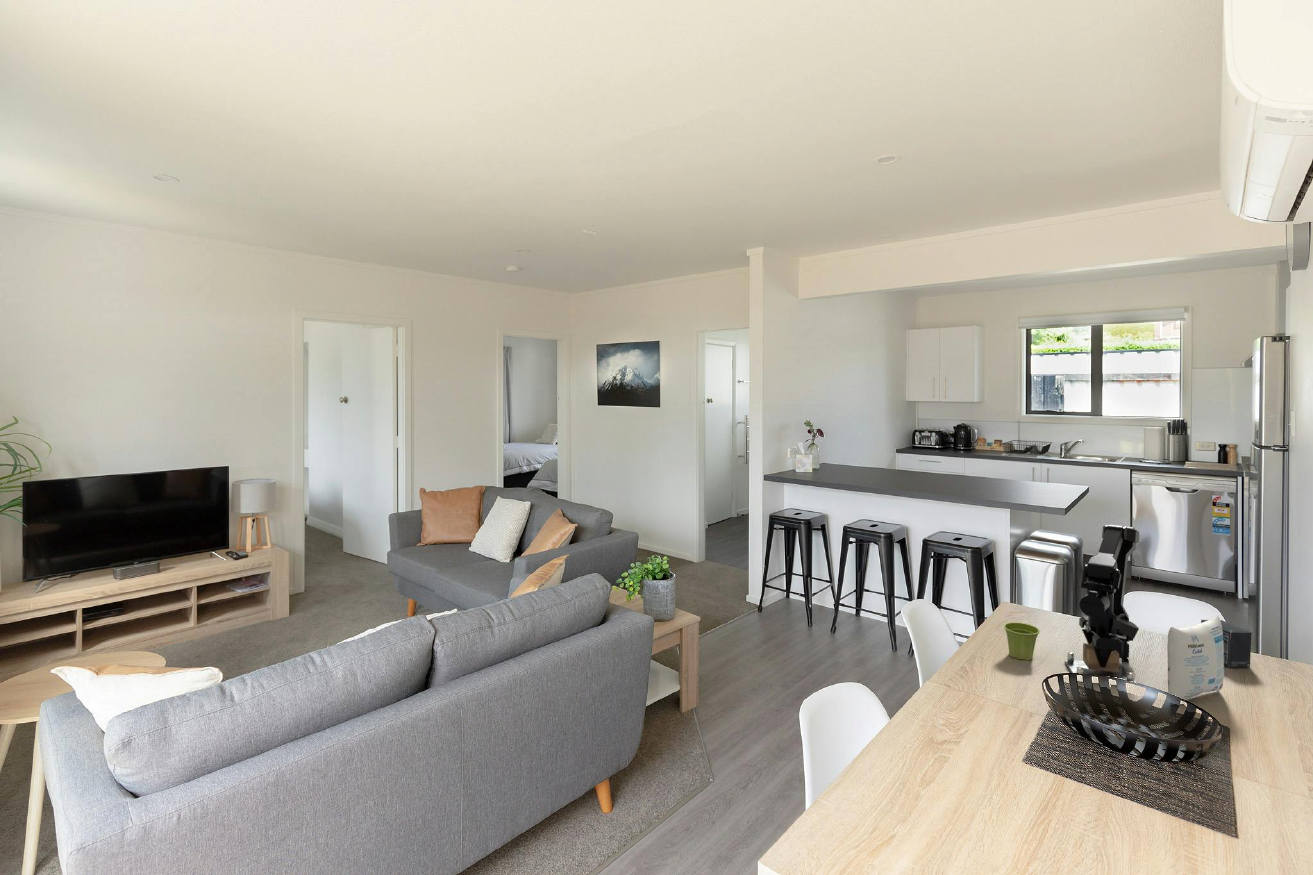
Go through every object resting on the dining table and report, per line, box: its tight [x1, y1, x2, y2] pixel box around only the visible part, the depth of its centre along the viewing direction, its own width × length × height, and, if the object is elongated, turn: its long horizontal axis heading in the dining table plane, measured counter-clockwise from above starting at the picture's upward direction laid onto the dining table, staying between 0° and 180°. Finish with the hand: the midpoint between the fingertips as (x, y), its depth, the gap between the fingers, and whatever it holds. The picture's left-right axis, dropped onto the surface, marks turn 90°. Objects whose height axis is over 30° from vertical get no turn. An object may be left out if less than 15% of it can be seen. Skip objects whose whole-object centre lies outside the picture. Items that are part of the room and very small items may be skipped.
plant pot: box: [1003, 622, 1040, 661], centre depth 196 cm, size 9×9×9 cm
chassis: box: [1064, 651, 1137, 684], centre depth 182 cm, size 14×13×3 cm
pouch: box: [1166, 615, 1225, 701], centre depth 167 cm, size 8×19×20 cm, turn 107°
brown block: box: [1082, 642, 1119, 672], centre depth 182 cm, size 6×7×5 cm
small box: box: [1200, 619, 1253, 669], centre depth 189 cm, size 11×6×10 cm, turn 179°
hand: (1099, 662), depth 182 cm, fingers closed on brown block, 6 cm apart
